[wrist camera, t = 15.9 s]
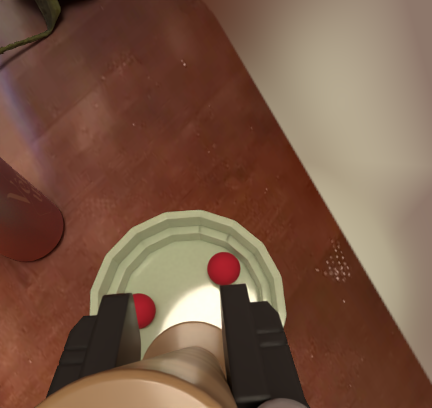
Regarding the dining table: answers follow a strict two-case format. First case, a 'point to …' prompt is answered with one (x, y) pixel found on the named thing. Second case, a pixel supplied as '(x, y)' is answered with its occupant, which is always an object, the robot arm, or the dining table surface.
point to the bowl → (185, 269)
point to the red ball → (144, 309)
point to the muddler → (159, 375)
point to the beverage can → (26, 218)
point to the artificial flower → (50, 11)
